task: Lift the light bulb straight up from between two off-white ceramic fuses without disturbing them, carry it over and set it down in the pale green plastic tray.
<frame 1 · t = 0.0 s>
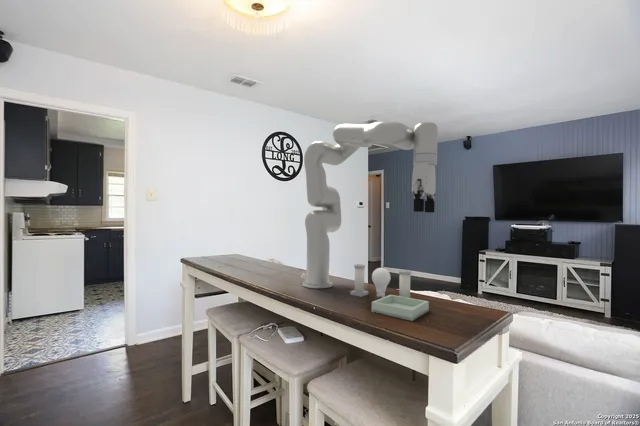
hand: (424, 212, 106), 31 cm above the table, fingers open, 9 cm apart
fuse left: (359, 294, 120), on the table
light bulb: (380, 299, 114), on the table
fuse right: (404, 303, 109), on the table
tray: (400, 311, 99), on the table
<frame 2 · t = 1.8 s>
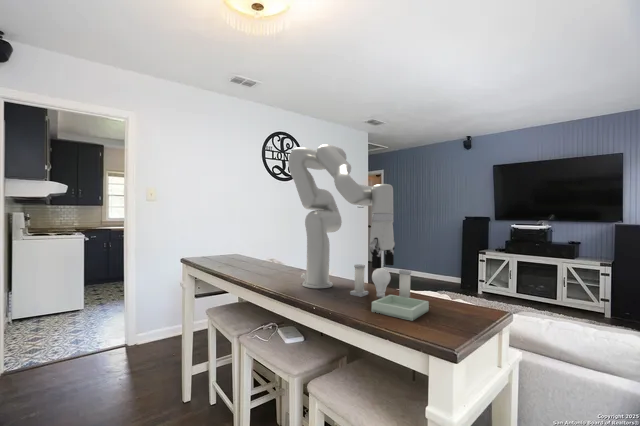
hand: (383, 266, 114), 12 cm above the table, fingers open, 9 cm apart
nothing on the table moved.
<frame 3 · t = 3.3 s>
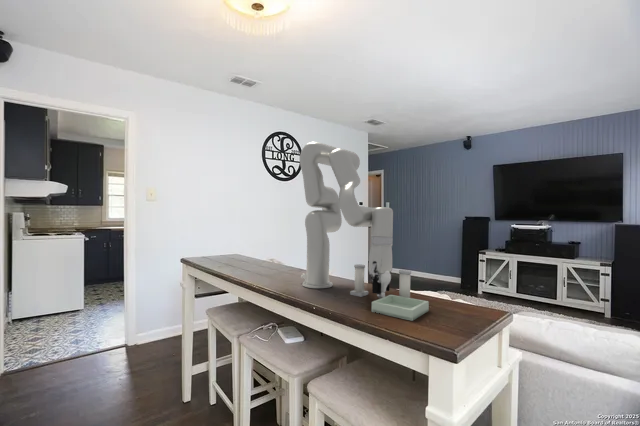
hand: (381, 291, 114), 3 cm above the table, fingers closed on light bulb, 5 cm apart
light bulb: (380, 299, 114), on the table, touching gripper
everything else where it was.
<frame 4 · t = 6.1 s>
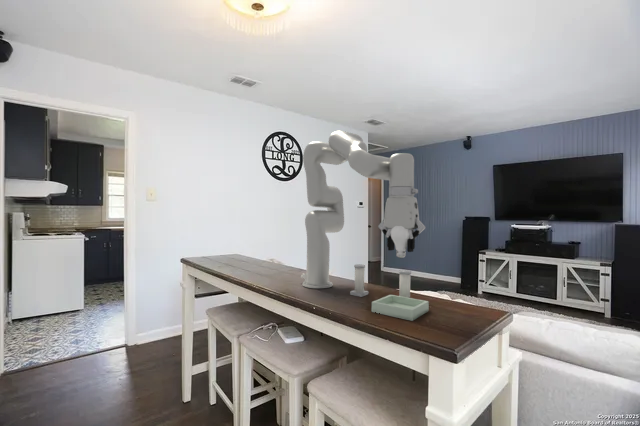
hand: (400, 250, 100), 19 cm above the table, fingers closed on light bulb, 5 cm apart
light bulb: (400, 258, 100), point 16 cm above the table, touching gripper
everything else where it was.
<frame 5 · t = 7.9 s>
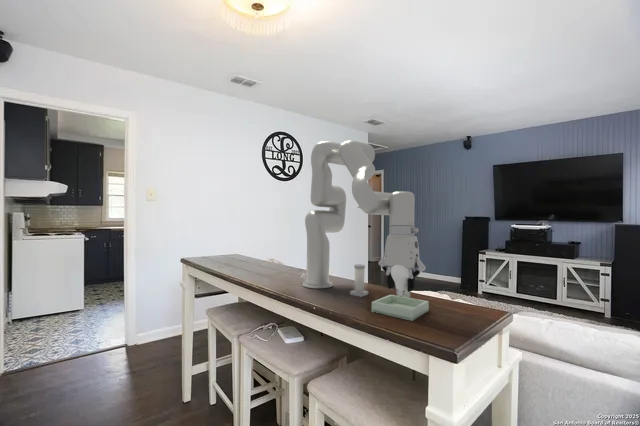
hand: (400, 288, 99), 7 cm above the table, fingers closed on light bulb, 5 cm apart
light bulb: (400, 297, 99), point 4 cm above the table, touching gripper
everything else where it was.
when the fingers open (6 cm above the table, at t = 9.0 s): light bulb drops 2 cm, resting on tray.
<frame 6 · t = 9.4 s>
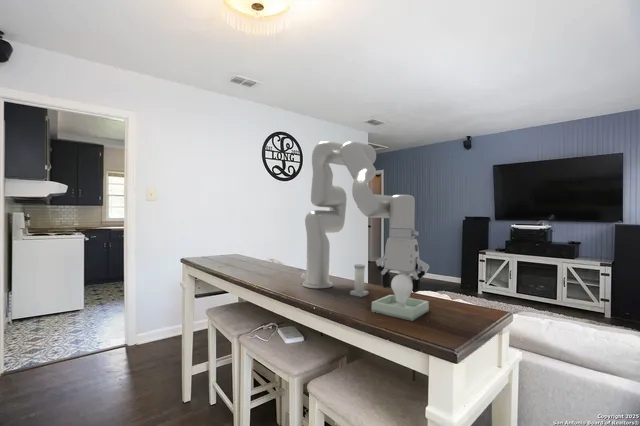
hand: (400, 289, 99), 7 cm above the table, fingers open, 9 cm apart
light bulb: (400, 309, 98), point 1 cm above the table, touching tray
everything else where it was.
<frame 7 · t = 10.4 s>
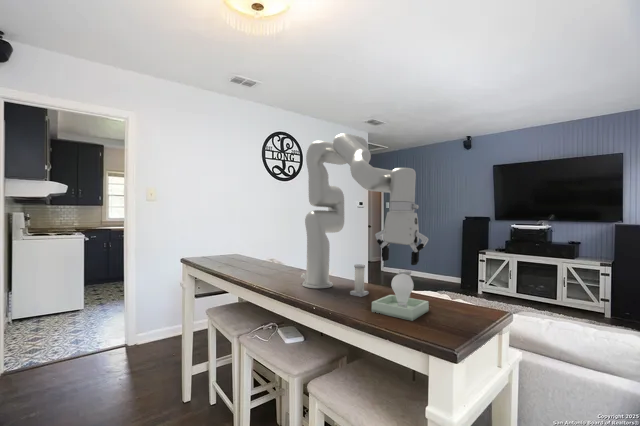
hand: (399, 262, 100), 15 cm above the table, fingers open, 9 cm apart
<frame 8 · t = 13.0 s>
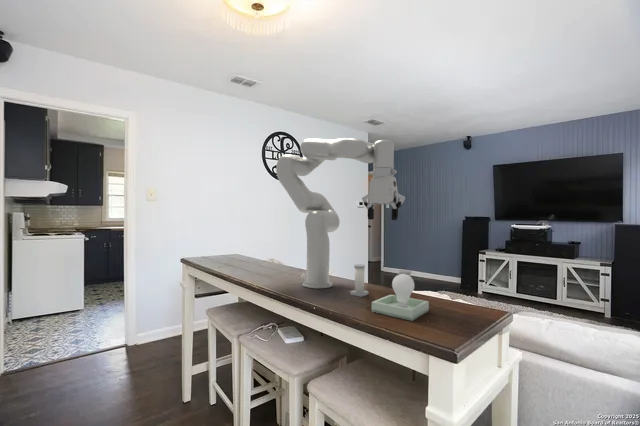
hand: (382, 219, 119), 28 cm above the table, fingers open, 9 cm apart
nothing on the table moved.
at the end: light bulb inside the target area on the tray (1.3 cm from its centre), point 0.6 cm above the tray's base; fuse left moved 0.0 cm from its start; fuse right moved 0.0 cm from its start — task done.
